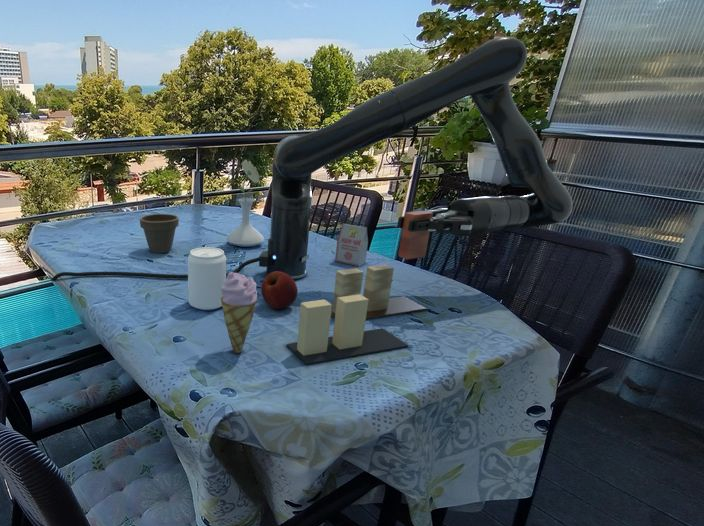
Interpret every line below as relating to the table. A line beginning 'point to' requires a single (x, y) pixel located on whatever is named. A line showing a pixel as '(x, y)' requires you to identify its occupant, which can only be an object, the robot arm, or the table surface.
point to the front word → (339, 332)
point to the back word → (373, 291)
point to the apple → (279, 290)
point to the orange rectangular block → (414, 237)
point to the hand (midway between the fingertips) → (404, 224)
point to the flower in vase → (246, 215)
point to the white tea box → (352, 245)
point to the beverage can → (206, 277)
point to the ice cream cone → (238, 307)
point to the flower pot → (159, 231)
